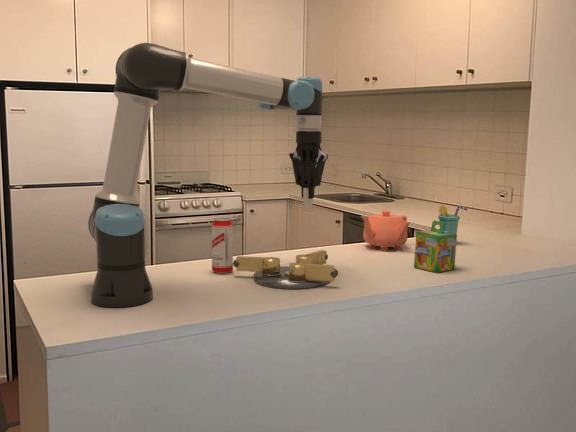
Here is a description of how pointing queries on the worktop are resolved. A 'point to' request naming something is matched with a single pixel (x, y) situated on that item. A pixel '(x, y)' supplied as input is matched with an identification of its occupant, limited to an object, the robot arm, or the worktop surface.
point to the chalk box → (435, 249)
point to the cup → (449, 219)
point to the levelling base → (285, 281)
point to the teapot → (385, 230)
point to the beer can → (222, 245)
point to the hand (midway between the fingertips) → (307, 209)
